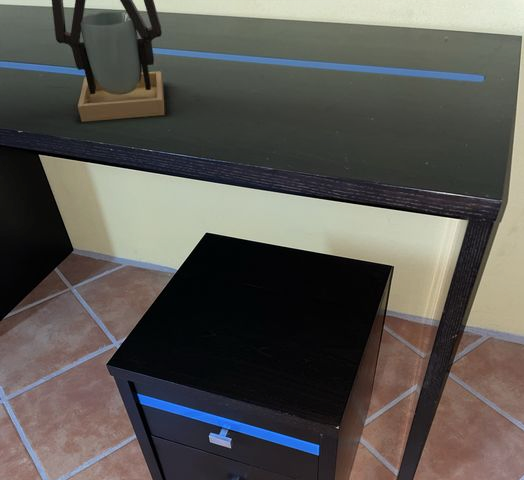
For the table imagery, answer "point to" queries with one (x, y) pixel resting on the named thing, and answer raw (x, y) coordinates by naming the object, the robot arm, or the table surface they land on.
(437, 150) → the table surface
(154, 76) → the tray
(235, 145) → the table surface
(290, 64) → the table surface
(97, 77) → the cup
